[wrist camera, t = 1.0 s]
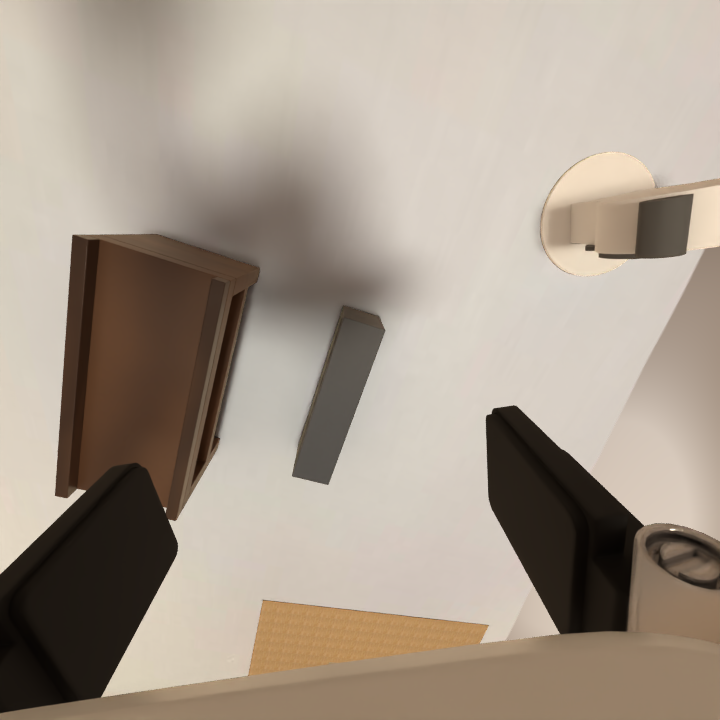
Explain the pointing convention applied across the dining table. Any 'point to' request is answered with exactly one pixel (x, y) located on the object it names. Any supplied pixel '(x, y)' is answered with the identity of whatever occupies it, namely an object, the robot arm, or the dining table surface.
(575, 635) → the robot arm
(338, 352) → the case
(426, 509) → the dining table surface
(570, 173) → the panda standee
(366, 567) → the dining table surface
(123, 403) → the shelf
